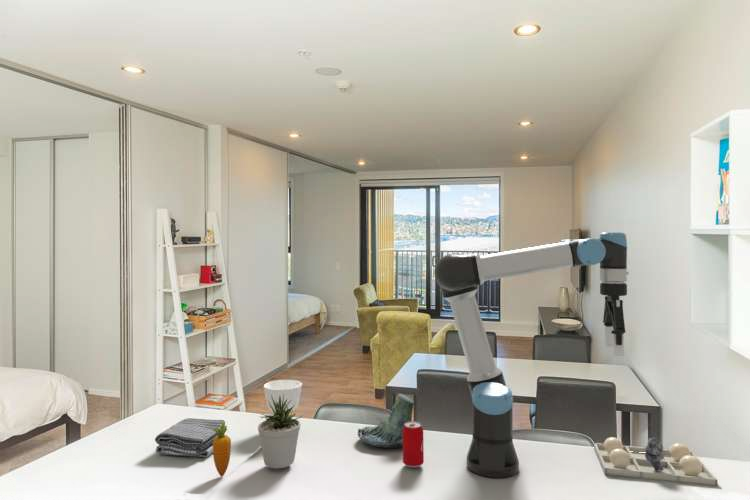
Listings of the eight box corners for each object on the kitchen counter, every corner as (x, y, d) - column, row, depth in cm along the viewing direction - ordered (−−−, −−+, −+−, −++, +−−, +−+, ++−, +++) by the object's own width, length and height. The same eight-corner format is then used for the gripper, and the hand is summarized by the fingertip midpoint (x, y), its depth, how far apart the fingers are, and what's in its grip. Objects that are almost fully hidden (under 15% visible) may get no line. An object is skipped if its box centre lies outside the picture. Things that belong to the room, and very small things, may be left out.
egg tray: (604, 474, 140) (604, 467, 140) (594, 448, 158) (593, 442, 158) (717, 487, 132) (717, 479, 132) (692, 458, 151) (692, 451, 151)
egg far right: (672, 464, 145) (672, 446, 145) (667, 457, 151) (666, 439, 151) (693, 466, 144) (693, 448, 144) (686, 458, 149) (686, 441, 149)
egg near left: (611, 470, 141) (611, 451, 141) (607, 462, 147) (607, 444, 147) (632, 472, 140) (632, 454, 140) (627, 464, 145) (627, 446, 145)
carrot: (220, 482, 136) (220, 428, 136) (208, 477, 139) (208, 424, 139) (234, 475, 141) (234, 422, 141) (222, 471, 143) (222, 419, 143)
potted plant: (311, 461, 150) (311, 395, 150) (274, 476, 140) (274, 406, 140) (286, 449, 158) (286, 387, 158) (249, 463, 148) (249, 397, 148)
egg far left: (605, 457, 150) (605, 440, 150) (602, 450, 155) (602, 433, 155) (625, 459, 149) (625, 441, 149) (621, 452, 154) (621, 435, 154)
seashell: (668, 476, 138) (668, 440, 138) (647, 474, 139) (647, 439, 139) (661, 468, 143) (661, 433, 143) (641, 466, 144) (641, 432, 144)
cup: (257, 434, 172) (257, 389, 172) (272, 420, 185) (271, 378, 185) (295, 436, 170) (294, 390, 170) (307, 422, 183) (306, 380, 183)
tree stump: (360, 424, 178) (380, 379, 179) (411, 449, 176) (431, 403, 176) (352, 439, 160) (374, 389, 161) (408, 468, 157) (431, 416, 158)
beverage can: (426, 461, 149) (426, 422, 149) (419, 470, 143) (419, 429, 143) (407, 458, 152) (407, 419, 152) (399, 466, 146) (399, 425, 146)
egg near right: (683, 478, 137) (682, 458, 137) (676, 469, 142) (676, 451, 142) (705, 480, 135) (705, 461, 135) (698, 472, 140) (697, 453, 140)
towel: (181, 437, 170) (181, 415, 170) (230, 441, 166) (230, 418, 166) (153, 455, 155) (153, 430, 155) (206, 460, 151) (206, 435, 151)
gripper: (636, 285, 139) (636, 360, 139) (618, 280, 163) (618, 344, 163) (607, 285, 141) (608, 359, 141) (593, 279, 165) (593, 343, 165)
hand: (613, 351), depth 152 cm, fingers open, 13 cm apart
